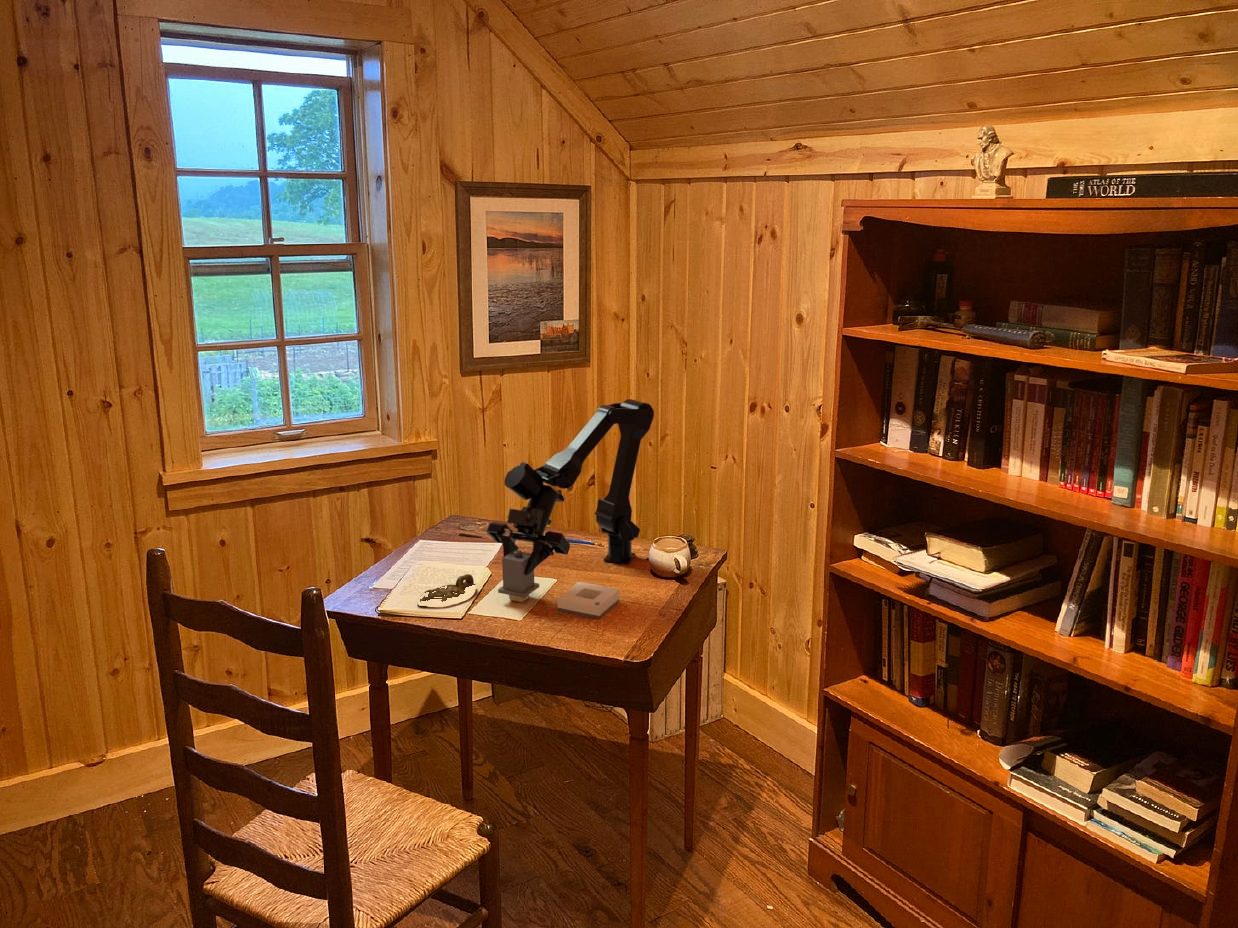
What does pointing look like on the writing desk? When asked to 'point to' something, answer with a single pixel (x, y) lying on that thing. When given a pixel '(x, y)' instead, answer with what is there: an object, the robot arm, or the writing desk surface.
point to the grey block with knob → (517, 576)
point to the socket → (588, 600)
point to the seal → (450, 589)
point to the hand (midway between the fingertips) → (515, 572)
